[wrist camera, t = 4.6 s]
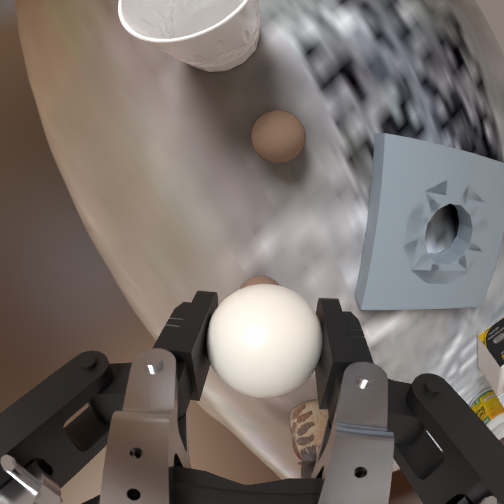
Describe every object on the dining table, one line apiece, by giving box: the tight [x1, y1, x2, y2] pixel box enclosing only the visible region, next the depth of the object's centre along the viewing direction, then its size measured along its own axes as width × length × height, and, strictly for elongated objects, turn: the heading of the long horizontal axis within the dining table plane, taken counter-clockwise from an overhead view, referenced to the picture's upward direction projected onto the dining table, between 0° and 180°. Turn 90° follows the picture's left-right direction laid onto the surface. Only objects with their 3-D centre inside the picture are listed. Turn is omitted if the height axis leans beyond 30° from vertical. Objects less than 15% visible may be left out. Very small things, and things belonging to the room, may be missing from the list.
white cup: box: [118, 0, 260, 72], centre depth 14 cm, size 8×8×10 cm
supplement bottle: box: [469, 388, 504, 440], centre depth 27 cm, size 5×5×10 cm
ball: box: [206, 284, 322, 398], centre depth 10 cm, size 4×4×4 cm
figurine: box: [290, 400, 329, 478], centre depth 28 cm, size 7×7×12 cm
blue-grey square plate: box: [355, 133, 504, 310], centre depth 22 cm, size 15×15×2 cm
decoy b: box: [240, 276, 279, 289], centre depth 25 cm, size 4×4×4 cm
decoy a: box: [251, 110, 306, 163], centre depth 20 cm, size 4×4×4 cm
